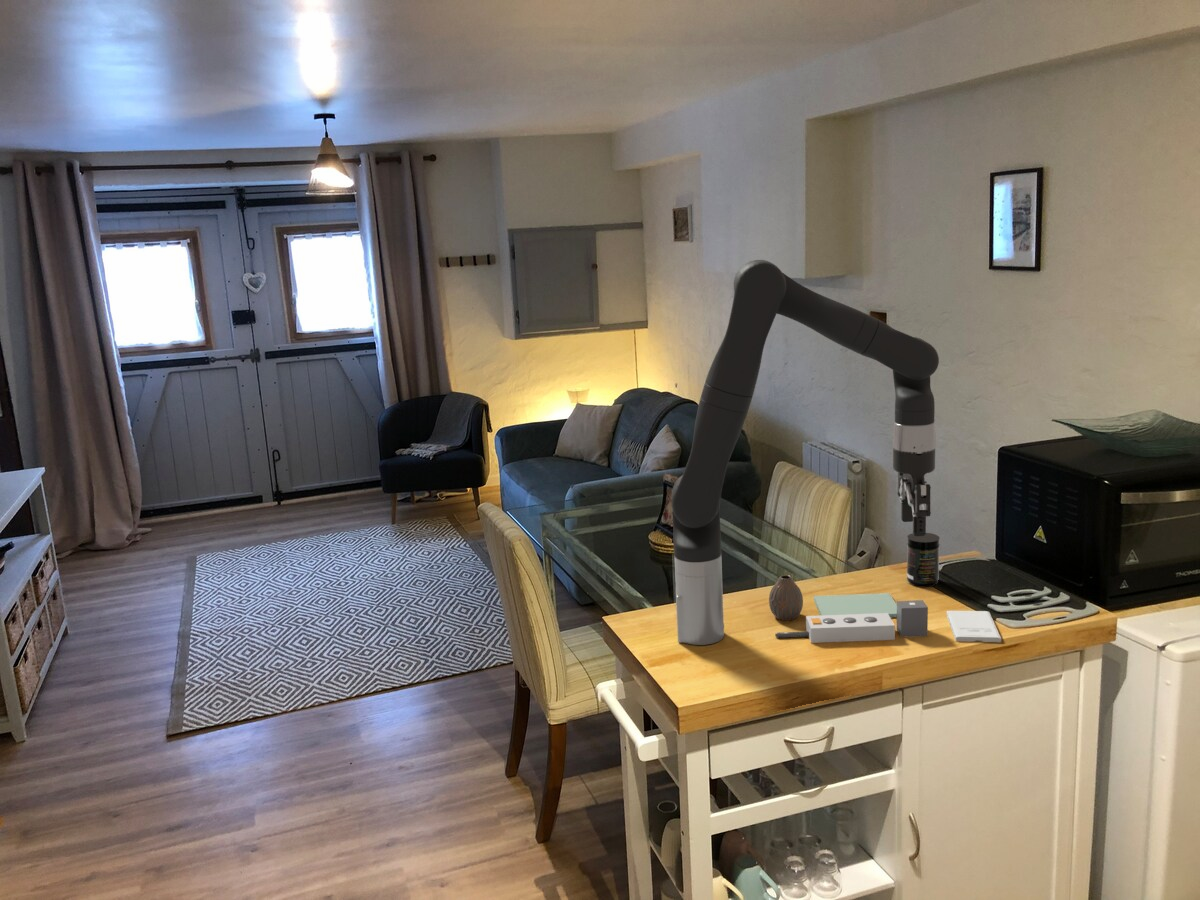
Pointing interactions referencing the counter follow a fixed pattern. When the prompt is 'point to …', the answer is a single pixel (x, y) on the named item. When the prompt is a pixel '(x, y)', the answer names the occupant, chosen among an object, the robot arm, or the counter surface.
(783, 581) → the vase
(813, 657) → the counter surface
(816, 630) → the power strip
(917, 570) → the supplement container
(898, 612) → the plug
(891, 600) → the mat
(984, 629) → the external hard drive
